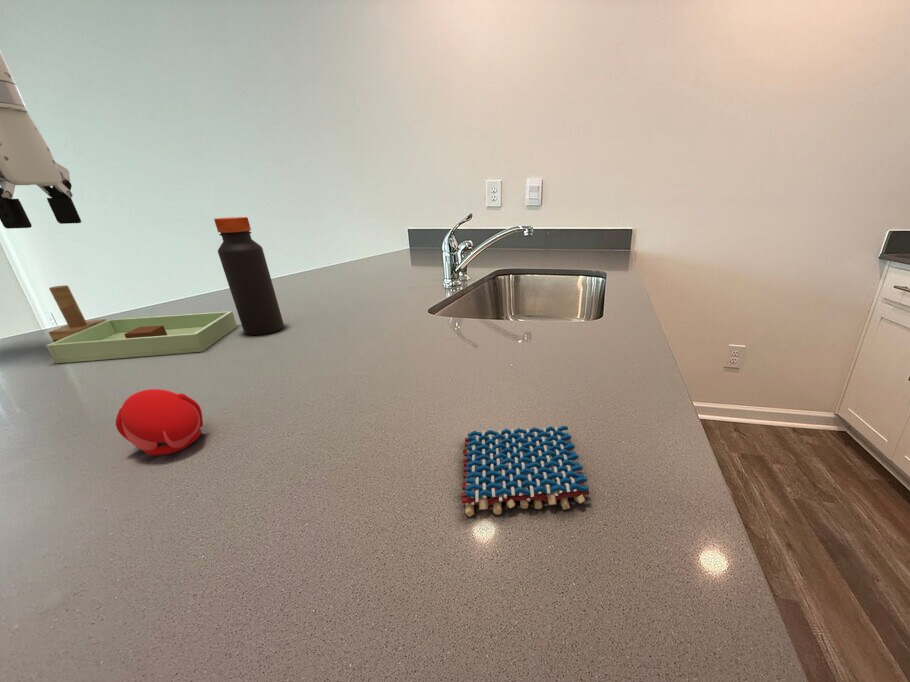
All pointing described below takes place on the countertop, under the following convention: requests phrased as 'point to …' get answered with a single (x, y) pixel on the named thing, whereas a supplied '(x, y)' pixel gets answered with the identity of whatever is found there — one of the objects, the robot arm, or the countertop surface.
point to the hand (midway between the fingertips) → (46, 225)
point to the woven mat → (521, 469)
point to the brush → (69, 314)
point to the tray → (112, 343)
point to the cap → (159, 421)
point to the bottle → (248, 277)
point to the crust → (146, 332)
